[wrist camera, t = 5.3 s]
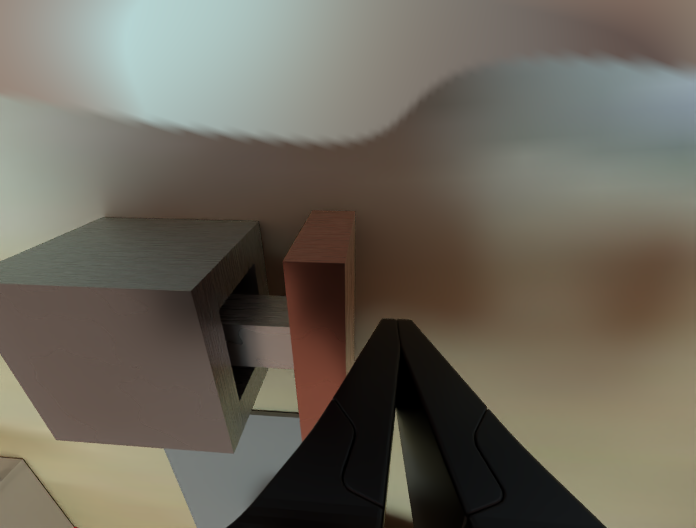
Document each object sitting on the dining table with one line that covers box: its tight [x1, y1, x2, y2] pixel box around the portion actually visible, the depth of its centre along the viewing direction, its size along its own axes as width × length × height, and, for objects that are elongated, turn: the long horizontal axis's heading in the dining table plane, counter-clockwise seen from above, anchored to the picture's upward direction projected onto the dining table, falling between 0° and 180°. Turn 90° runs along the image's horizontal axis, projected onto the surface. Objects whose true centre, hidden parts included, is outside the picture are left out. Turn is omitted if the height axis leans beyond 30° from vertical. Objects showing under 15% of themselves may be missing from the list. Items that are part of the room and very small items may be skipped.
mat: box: [164, 411, 302, 528], centre depth 17 cm, size 8×16×1 cm, turn 0°
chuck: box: [0, 217, 269, 454], centre depth 9 cm, size 5×5×4 cm
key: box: [219, 210, 355, 442], centre depth 9 cm, size 7×6×3 cm
